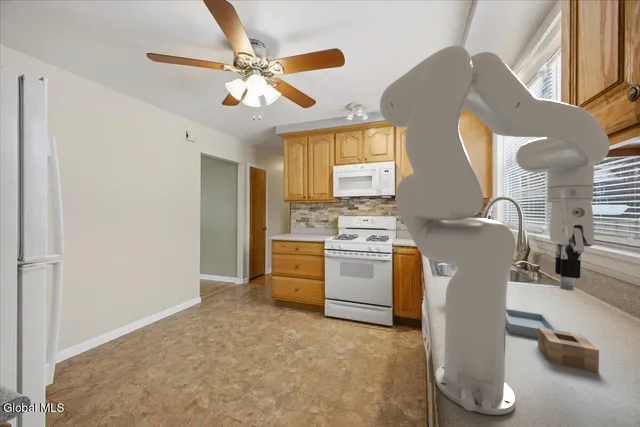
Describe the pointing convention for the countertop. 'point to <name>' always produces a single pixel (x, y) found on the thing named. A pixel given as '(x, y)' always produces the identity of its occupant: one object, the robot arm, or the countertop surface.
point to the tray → (527, 322)
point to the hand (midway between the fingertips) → (567, 275)
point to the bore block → (568, 349)
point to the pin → (566, 278)
